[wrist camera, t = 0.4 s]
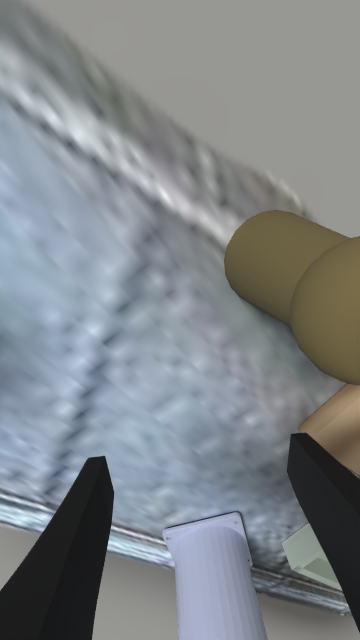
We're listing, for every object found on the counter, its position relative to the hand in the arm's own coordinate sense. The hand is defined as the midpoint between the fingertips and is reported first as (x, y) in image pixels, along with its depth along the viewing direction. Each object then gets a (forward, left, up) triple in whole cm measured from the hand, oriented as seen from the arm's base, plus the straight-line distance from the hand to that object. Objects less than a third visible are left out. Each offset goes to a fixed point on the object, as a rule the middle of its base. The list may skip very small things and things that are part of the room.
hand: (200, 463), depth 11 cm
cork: (+4, -7, -10) cm, 13 cm away
